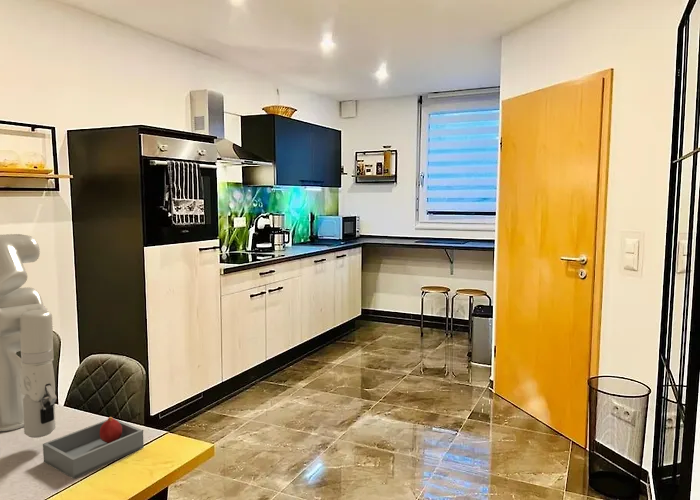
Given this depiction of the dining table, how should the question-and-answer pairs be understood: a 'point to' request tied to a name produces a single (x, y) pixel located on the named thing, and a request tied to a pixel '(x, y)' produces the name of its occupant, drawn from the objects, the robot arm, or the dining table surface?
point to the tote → (90, 449)
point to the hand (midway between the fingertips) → (39, 417)
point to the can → (35, 419)
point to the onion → (110, 430)
